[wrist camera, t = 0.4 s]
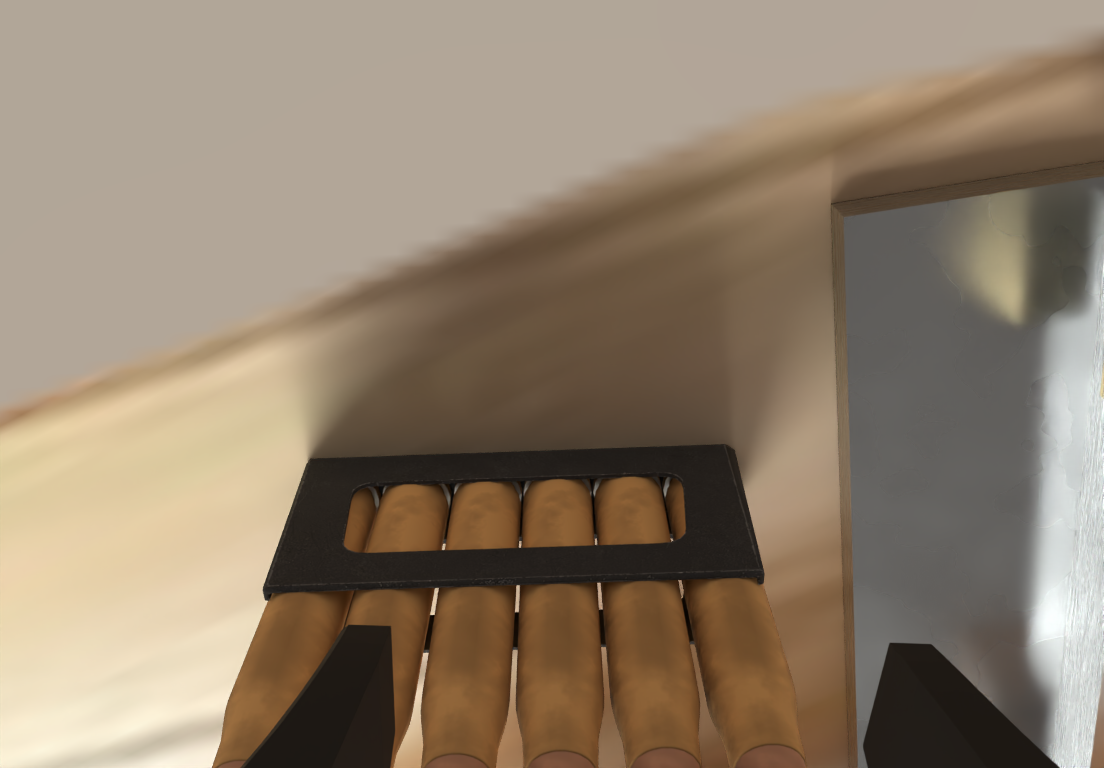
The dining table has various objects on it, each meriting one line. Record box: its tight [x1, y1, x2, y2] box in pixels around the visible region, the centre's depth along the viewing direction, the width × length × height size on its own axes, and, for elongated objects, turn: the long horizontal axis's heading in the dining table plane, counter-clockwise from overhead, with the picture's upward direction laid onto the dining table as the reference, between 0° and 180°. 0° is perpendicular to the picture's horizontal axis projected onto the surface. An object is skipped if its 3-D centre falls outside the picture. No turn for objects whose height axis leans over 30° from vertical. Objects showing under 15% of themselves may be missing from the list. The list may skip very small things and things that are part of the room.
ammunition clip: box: [212, 444, 807, 768], centre depth 19 cm, size 11×2×12 cm, turn 92°
